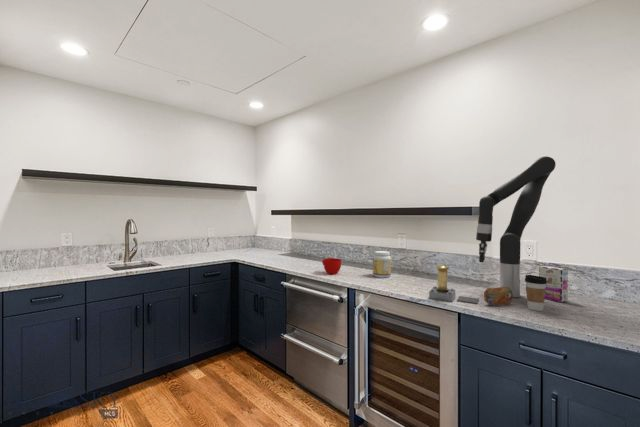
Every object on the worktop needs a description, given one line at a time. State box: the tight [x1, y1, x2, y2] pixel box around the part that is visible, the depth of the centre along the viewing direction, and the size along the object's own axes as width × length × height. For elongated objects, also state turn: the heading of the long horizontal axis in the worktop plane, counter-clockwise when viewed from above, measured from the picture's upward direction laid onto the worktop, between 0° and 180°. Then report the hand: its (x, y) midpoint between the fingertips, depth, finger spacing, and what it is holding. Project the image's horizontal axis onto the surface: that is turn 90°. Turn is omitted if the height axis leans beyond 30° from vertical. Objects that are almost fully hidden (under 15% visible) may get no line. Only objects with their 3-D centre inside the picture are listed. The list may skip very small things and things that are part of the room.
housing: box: [428, 286, 456, 302], centre depth 160 cm, size 11×11×4 cm
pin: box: [436, 265, 450, 293], centre depth 160 cm, size 6×6×16 cm
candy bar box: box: [538, 265, 569, 303], centre depth 158 cm, size 11×5×16 cm, turn 21°
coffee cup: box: [524, 274, 547, 312], centre depth 142 cm, size 8×8×15 cm
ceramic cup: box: [321, 257, 342, 275], centre depth 222 cm, size 13×17×10 cm
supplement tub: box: [372, 250, 392, 279], centre depth 212 cm, size 12×12×17 cm
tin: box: [483, 286, 513, 307], centre depth 149 cm, size 15×3×8 cm, turn 105°
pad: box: [456, 295, 480, 305], centre depth 155 cm, size 9×9×1 cm
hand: (481, 261), depth 172 cm, fingers open, 8 cm apart
